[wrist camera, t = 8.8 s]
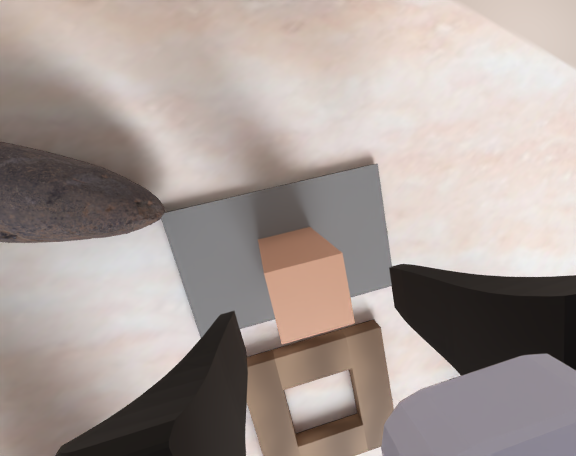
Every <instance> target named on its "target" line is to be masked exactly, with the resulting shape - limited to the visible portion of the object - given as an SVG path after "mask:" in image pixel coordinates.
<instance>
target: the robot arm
mask: <svg viewBox="0 0 576 456" xmlns="http://www.w3.org/2000/svg"><path fill="white" fill-rule="evenodd" d="M389 271H390V278H391V285H392V292H393V299H394V306H395V308H396V310H397V311H398V312H399V314H400V315H401V316H402V317H403V319H404V320H405V321H406V322H407V323H408V324H409V325H410V326H411V327H412V328H413V329H414V330H415V331H416V332H417V333H418V334H419V335H420V336H421V337H422V338H423V339H424V340H425V341H426V342H428V343H429V344H430V345H431V346H432V347H433V348H434V349H435V350H436V351H437V352H438V353H439V354H440V355H441V356H443V357H444V358H445V359H446V360H447V361H448V362H449V363H450V364H451V365H452V366H453V367H454V368H455V369H456V370H457V371H458V372H459V374H460V375H461V376H459V377H456V378H453V379H450V380H447V381H444V382H441V383H438V384H435V385H432V386H429V387H426V388H423V389H420V390H419V391H417V392H415V393H414V394H412V395H410V396H408V397H407V398H405V399H403V400H402V401H400V402H399V403H398V405H397V406H396V408H395V409H394V410H393V412H392V413H391V415H390V416H389V417H388V419H387V420H386V422H385V424H384V430H383V438H382V446H381V449H382V455H383V456H576V275H574V276H557V277H502V276H487V275H476V274H468V273H460V272H453V271H447V270H441V269H435V268H429V267H423V266H416V265H409V264H400V265H397V266H393V267H389ZM247 383H248V367H247V355H246V349H245V345H244V342H243V339H242V335H241V332H240V328H239V325H238V322H237V318H236V315H235V311H231V312H227V313H224V314H220V315H219V316H218V318H217V319H216V320H215V321H214V323H213V324H212V325H211V326H210V328H209V329H208V330H207V332H206V333H205V334H204V335H203V337H202V338H201V339H200V340H199V341H198V343H197V344H196V345H195V346H194V347H193V348H192V349H191V350H190V352H189V353H188V354H187V355H186V356H185V357H184V358H183V359H182V360H181V361H180V362H179V363H178V364H177V365H176V366H175V367H174V368H173V369H172V370H171V371H170V372H169V373H168V374H167V375H165V376H164V377H163V378H162V379H161V380H160V381H158V382H157V383H156V384H155V385H153V386H152V387H151V388H150V389H148V390H147V391H146V392H145V393H143V394H142V395H141V396H140V397H138V398H137V399H136V400H134V401H133V402H131V403H130V404H129V405H127V406H126V407H124V408H123V409H121V410H120V411H118V412H117V413H116V414H114V415H113V416H111V417H110V418H108V419H106V420H105V421H103V422H102V423H100V424H98V425H97V426H95V427H93V428H92V429H90V430H88V431H87V432H85V433H83V434H82V435H80V436H78V437H77V438H75V439H73V440H72V441H70V442H68V443H66V444H64V445H63V446H61V448H60V449H59V451H58V452H57V454H56V455H55V456H246V447H245V423H246V403H247Z"/></svg>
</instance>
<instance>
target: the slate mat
mask: <svg viewBox="0 0 576 456" xmlns="http://www.w3.org/2000/svg"><path fill="white" fill-rule="evenodd" d="M161 219H162V222H163V225H164V228H165V231H166V234H167V237H168V240H169V243H170V246H171V249H172V252H173V255H174V258H175V261H176V264H177V267H178V270H179V273H180V276H181V279H182V282H183V285H184V288H185V291H186V294H187V297H188V300H189V303H190V306H191V309H192V313H193V316H194V319H195V322H196V325H197V328H198V331H199V334H200V337H201V338H202V337H203V335H204V334H205V333H206V332H207V330H208V329H209V328H210V326H211V325H212V324H213V323H214V321H215V320H216V319H217V318H218V316H219V315H220V314H224V313H227V312H231V311H235V315H236V318H237V322H238V325H239V328H240V329H242V328H245V327H249V326H252V325H256V324H259V323H263V322H266V321H270V320H273V319H275V315H274V311H273V307H272V303H271V299H270V295H269V291H268V287H267V283H266V279H265V275H264V271H263V265H262V260H261V254H260V249H259V243H258V239H262V238H266V237H271V236H275V235H279V234H283V233H287V232H291V231H295V230H299V229H303V228H307V227H311V228H312V229H313V230H315V231H316V232H317V233H318V234H320V235H321V236H322V237H323V238H324V239H326V240H327V241H328V242H329V243H331V244H332V245H333V246H334V247H336V248H337V249H338V250H339V251H341V252H342V253H343V258H344V264H345V270H346V275H347V281H348V287H349V292H350V298H351V297H354V296H358V295H361V294H365V293H368V292H372V291H375V290H379V289H382V288H386V287H389V286H392V285H391V278H390V271H389V267H392V264H391V257H390V249H389V242H388V235H387V228H386V221H385V214H384V206H383V199H382V192H381V185H380V178H379V171H378V164H372V165H368V166H363V167H359V168H355V169H350V170H346V171H342V172H337V173H333V174H329V175H324V176H320V177H316V178H312V179H307V180H303V181H299V182H294V183H290V184H286V185H281V186H277V187H273V188H269V189H264V190H260V191H256V192H251V193H247V194H243V195H238V196H234V197H230V198H225V199H221V200H217V201H213V202H208V203H204V204H200V205H195V206H191V207H187V208H182V209H178V210H174V211H169V212H165V213H164V215H163V216H162V217H161Z"/></svg>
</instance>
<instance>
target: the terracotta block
mask: <svg viewBox="0 0 576 456" xmlns="http://www.w3.org/2000/svg"><path fill="white" fill-rule="evenodd" d="M258 243H259V249H260V254H261V260H262V265H263V271H264V275H265V279H266V283H267V287H268V291H269V295H270V299H271V303H272V307H273V311H274V315H275V319H276V323H277V327H278V331H279V335H280V339H281V343H282V345H283V344H286V343H289V342H293V341H296V340H300V339H303V338H307V337H310V336H313V335H317V334H320V333H324V332H327V331H331V330H334V329H337V328H341V327H344V326H348V325H351V324H355V321H354V315H353V309H352V304H351V298H350V292H349V287H348V281H347V275H346V270H345V264H344V258H343V253H342V252H341V251H339V250H338V249H337V248H336V247H334V246H333V245H332V244H331V243H329V242H328V241H327V240H326V239H324V238H323V237H322V236H321V235H320V234H318V233H317V232H316V231H315V230H313V229H312V228H311V227H307V228H303V229H299V230H295V231H291V232H287V233H283V234H279V235H275V236H271V237H266V238H262V239H258Z"/></svg>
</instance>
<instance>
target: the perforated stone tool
mask: <svg viewBox="0 0 576 456" xmlns="http://www.w3.org/2000/svg"><path fill="white" fill-rule="evenodd" d="M164 212H165V210H164V206H163V204H162V203H161V202H160V200H159V199H158V198H157V197H156V196H155V195H153V194H152V193H151V192H149V191H148V190H146V189H145V188H143V187H141V186H140V185H138V184H136V183H134V182H132V181H130V180H128V179H126V178H125V177H122V176H120V175H118V174H116V173H113V172H111V171H109V170H106V169H104V168H101V167H98V166H95V165H92V164H89V163H86V162H83V161H79V160H75V159H71V158H68V157H64V156H60V155H56V154H53V153H49V152H45V151H40V150H36V149H32V148H28V147H23V146H18V145H13V144H9V143H4V142H0V242H8V243H13V242H14V243H37V242H61V241H71V240H83V239H91V238H103V237H110V236H116V235H121V234H127V233H130V232H132V231H135V230H139V229H141V228H143V227H146V226H148V225H151V224H152V223H155V222H156V221H158V220H159V219H160V218H161V217H162V216H163V215H164Z"/></svg>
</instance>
